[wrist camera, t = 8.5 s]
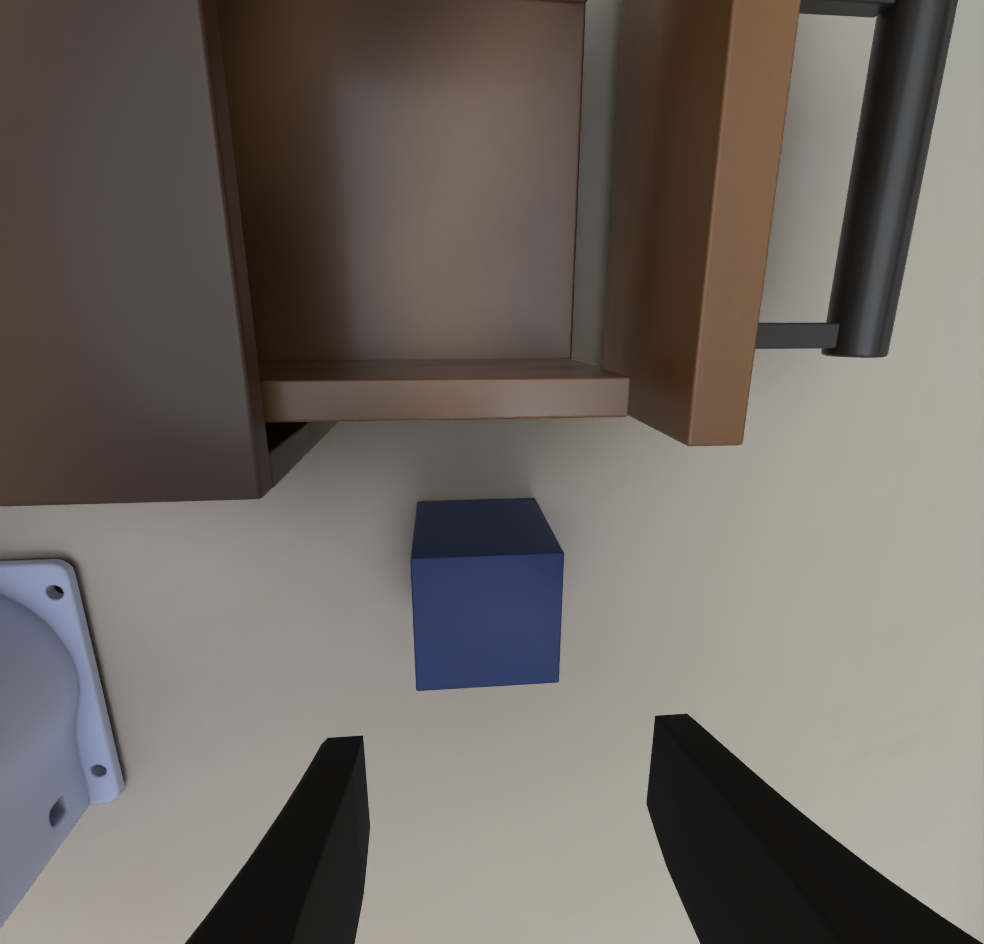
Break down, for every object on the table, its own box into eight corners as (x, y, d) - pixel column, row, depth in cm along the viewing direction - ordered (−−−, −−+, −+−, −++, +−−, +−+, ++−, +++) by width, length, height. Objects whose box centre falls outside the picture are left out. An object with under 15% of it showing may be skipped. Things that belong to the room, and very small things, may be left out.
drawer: (848, -23, 14) (1136, -264, 8) (784, 398, 17) (964, 441, 11) (117, -68, 13) (-164, -406, 7) (191, 406, 16) (41, 461, 10)
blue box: (532, 602, 20) (559, 683, 15) (421, 607, 19) (416, 692, 15) (535, 497, 18) (564, 552, 14) (417, 501, 18) (410, 558, 14)
